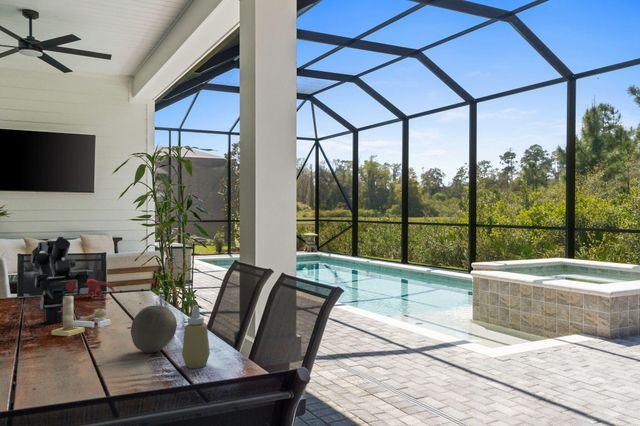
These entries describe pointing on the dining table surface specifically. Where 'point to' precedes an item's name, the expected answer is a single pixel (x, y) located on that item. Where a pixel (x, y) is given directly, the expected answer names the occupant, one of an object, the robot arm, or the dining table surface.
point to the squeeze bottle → (195, 341)
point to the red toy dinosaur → (90, 286)
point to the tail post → (68, 313)
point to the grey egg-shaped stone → (153, 328)
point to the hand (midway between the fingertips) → (65, 296)
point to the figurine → (93, 316)
